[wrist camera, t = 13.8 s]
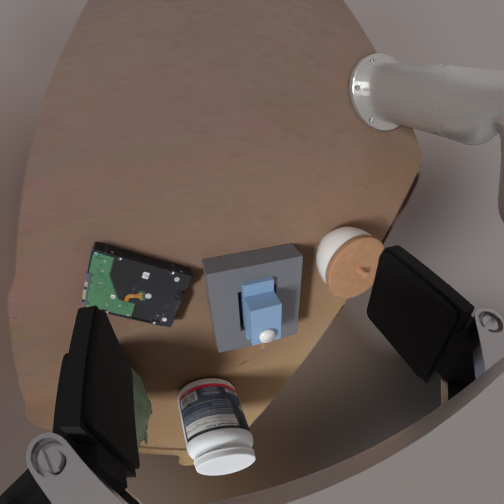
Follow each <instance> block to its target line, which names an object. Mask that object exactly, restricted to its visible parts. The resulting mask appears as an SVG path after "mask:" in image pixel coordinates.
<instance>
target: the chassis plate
mask: <svg viewBox="0 0 504 504" xmlns="http://www.w3.org/2000/svg"><path fill="white" fill-rule="evenodd" d="M302 262H303V255H302V254H301V253H300V252H299V251H298V250H297V249H296V247H295V246H294V245H293V244H292V243H291V244H285V245H280V246H274V247H269V248H263V249H258V250H252V251H247V252H241V253H236V254H230V255H224V256H219V257H213V258H208V259H202V263H203V270H204V277H205V284H206V291H207V297H208V304H209V310H210V316H211V322H212V328H213V334H214V339H215V342H216V345H217V349H218V352H219V353H220V352H225V351H229V350H234V349H238V348H242V347H247V346H251V345H252V343H251V341H250V339H249V340H247V338H246V333H245V327H244V324H243V322H242V319H241V317H240V314H239V303H238V292H242V283H243V282H248V281H253V280H258V279H262V278H267V277H271V276H272V277H273V279H274V292H275V294H276V295H277V297H278V298H279V300H280V302H281V303H282V314H281V338H282V337H286V336H290V335H293V334H297V324H298V313H299V302H300V289H301V276H302Z"/></svg>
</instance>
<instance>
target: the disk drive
mask: <svg viewBox="0 0 504 504" xmlns="http://www.w3.org/2000/svg"><path fill="white" fill-rule="evenodd" d="M191 278H192V275H191V271H190V268H186V267H182V266H180V265H176V264H171V263H167V262H163V261H160V260H156V259H153V258H149V257H146V256H142V255H139V254H135V253H132V252H128V251H125V250H121V249H118V248H115V247H113V246H109V245H105V244H101V243H98V242H94V245H93V247H92V251H91V255H90V259H89V264H88V269H87V273H86V278H85V284H84V290H83V296H82V304H83V305H86V307H89V306H95V305H96V306H97V307H98V308H99V310H101V309H104V310H105V312H106V313H108V314H112V315H116V316H120V317H124V318H129V319H133V320H138V321H142V322H146V323H151V324H155V325H160V326H166V327H171V326H172V324H173V321H174V319H175V316H176V313H177V311H178V309H179V307H180V304H181V302H182V299H183V295H184V291H185V290H186V289H187V288H188V285H189V283H190V281H191Z"/></svg>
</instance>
